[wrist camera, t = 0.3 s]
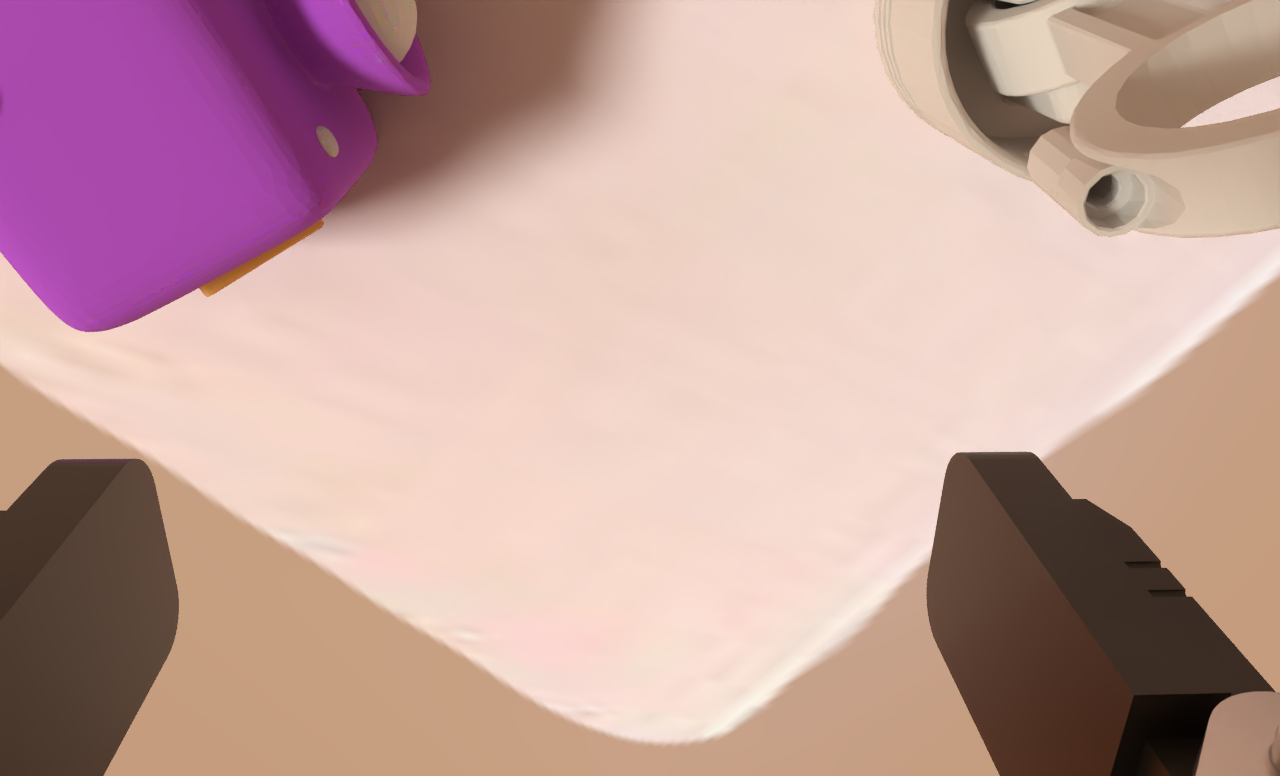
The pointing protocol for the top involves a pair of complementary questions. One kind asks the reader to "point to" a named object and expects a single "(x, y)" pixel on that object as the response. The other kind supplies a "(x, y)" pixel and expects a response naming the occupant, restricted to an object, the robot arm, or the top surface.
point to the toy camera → (182, 138)
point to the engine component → (1102, 102)
